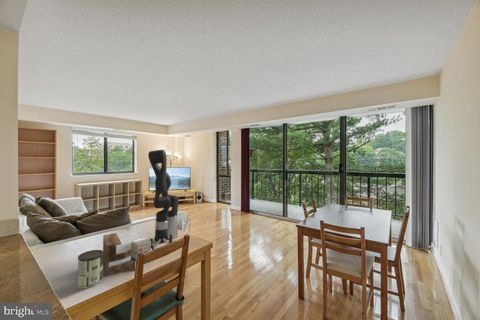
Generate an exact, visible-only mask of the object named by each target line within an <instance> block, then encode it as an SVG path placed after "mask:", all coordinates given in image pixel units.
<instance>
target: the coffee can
mask: <svg viewBox="0 0 480 320" xmlns="http://www.w3.org/2000/svg"><path fill="white" fill-rule="evenodd" d="M77 259H78V260H77V287H78V288H79V289H89V288H92V287H96V286H97V285H99V284H101V282H102V281H103V271H104V267H103V249H102V250H101V249H93V250H88V251H85V252H82V253H80V254H78V256H77Z"/></svg>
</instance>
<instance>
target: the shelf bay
mask: <svg viewBox="0 0 480 320" xmlns="http://www.w3.org/2000/svg"><path fill="white" fill-rule="evenodd" d="M102 238H103V239H102V240H103V241H102V251H103V271H104V274H105V276H109V275H113V274H118V273H121V272H125V271H129V270H136V269H135V263H136V262H133V261H129V262H128V261H127V262H124V263H120V264H115V265H112V266H110V265H109V263H110V262H111V263H112V262H115V261H120V260H123V259H127V258H129V257H131V248H130V249H127V250H126V251H123V252H117V246H122V242H121V239H120V237H119V236H118V233H117V232H115V233H110V234H109V233H108V234H104V235H103V237H102Z"/></svg>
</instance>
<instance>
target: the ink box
mask: <svg viewBox="0 0 480 320" xmlns="http://www.w3.org/2000/svg"><path fill="white" fill-rule="evenodd" d="M130 243H131V244H130V245H131V247H130V249H131V256H130V261H131V262H135V261H136V255H138V254H140V253H143V254H146V253H148V252H150V251H151V252H152V249H151V241H150V239H149V238H146V237H142V238H139V239H135V240H132V241H131V242H130Z"/></svg>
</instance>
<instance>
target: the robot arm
mask: <svg viewBox="0 0 480 320" xmlns="http://www.w3.org/2000/svg"><path fill="white" fill-rule="evenodd" d="M147 156H148V160H149V162H150V163H149V164H150V165H151V167H152V170H153V173H154V175H155V180H154V186H155V193H154V199H153V207H154V208H155V209H161V208H162V210H159V211H157V212H156V213H155V224H154V225H155V226H154V230H155V231H154V237H149V240H150V241H151V251H152V250H154V249H155V250H156V248H157V247H158V245H161V244H166V245H167V244H169V243H171V242H172V243H173V239H176V238H177V237H178V231H179V229H178V228H179V225H178V210H179V201H180V200H179V196H178V195H173V194H171V195H170V194H169V192H168V191H169V190H170V188H171V185H172V180H171V177H170V174H169V173H167V165H168V164H167V161H168V157H167V153H166V151H165V149H156V150H151V151H149V152H148V154H147ZM159 164H160V165H161V166H159ZM170 208H171V209H170Z"/></svg>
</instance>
